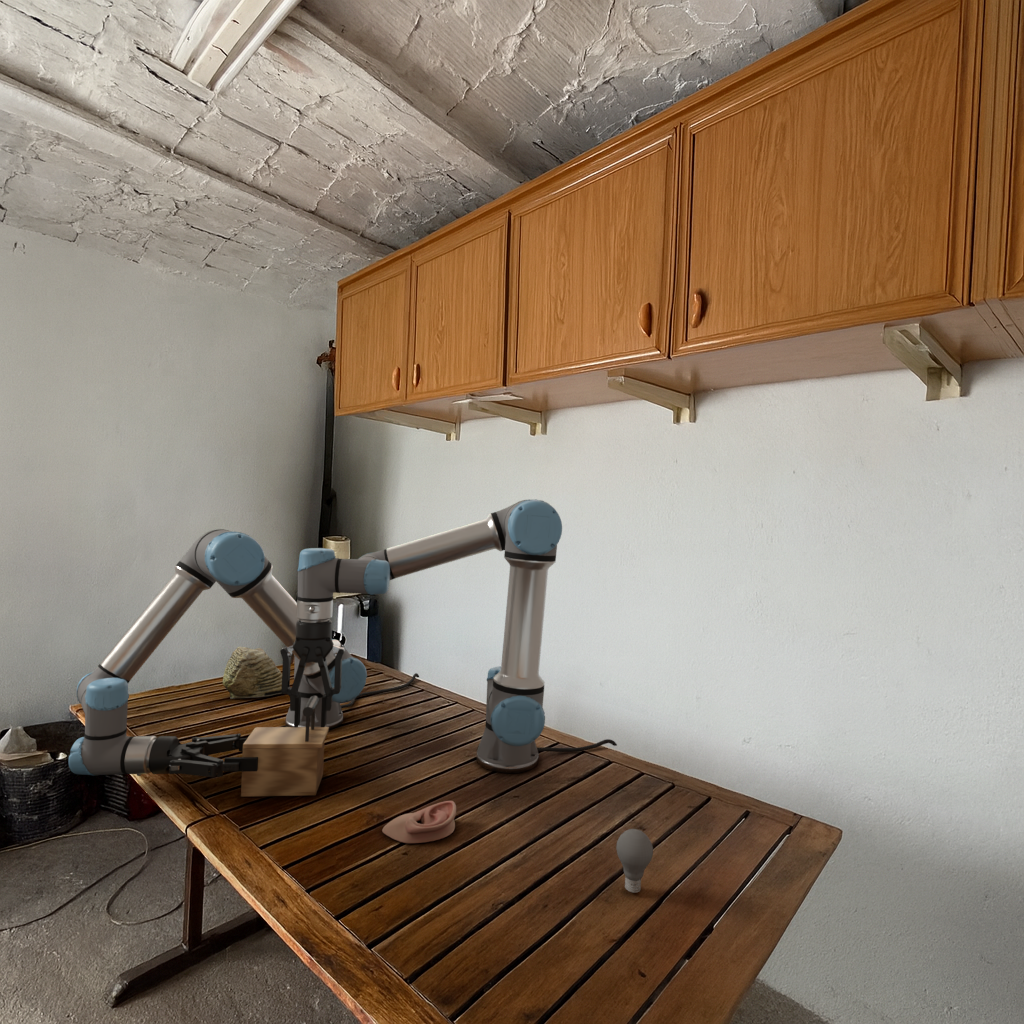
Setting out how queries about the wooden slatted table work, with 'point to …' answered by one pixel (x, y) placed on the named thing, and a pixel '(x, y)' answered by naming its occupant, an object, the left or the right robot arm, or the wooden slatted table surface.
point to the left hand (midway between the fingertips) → (263, 753)
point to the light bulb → (634, 857)
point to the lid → (290, 733)
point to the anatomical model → (423, 824)
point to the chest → (283, 772)
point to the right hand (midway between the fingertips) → (310, 724)
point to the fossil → (251, 674)
